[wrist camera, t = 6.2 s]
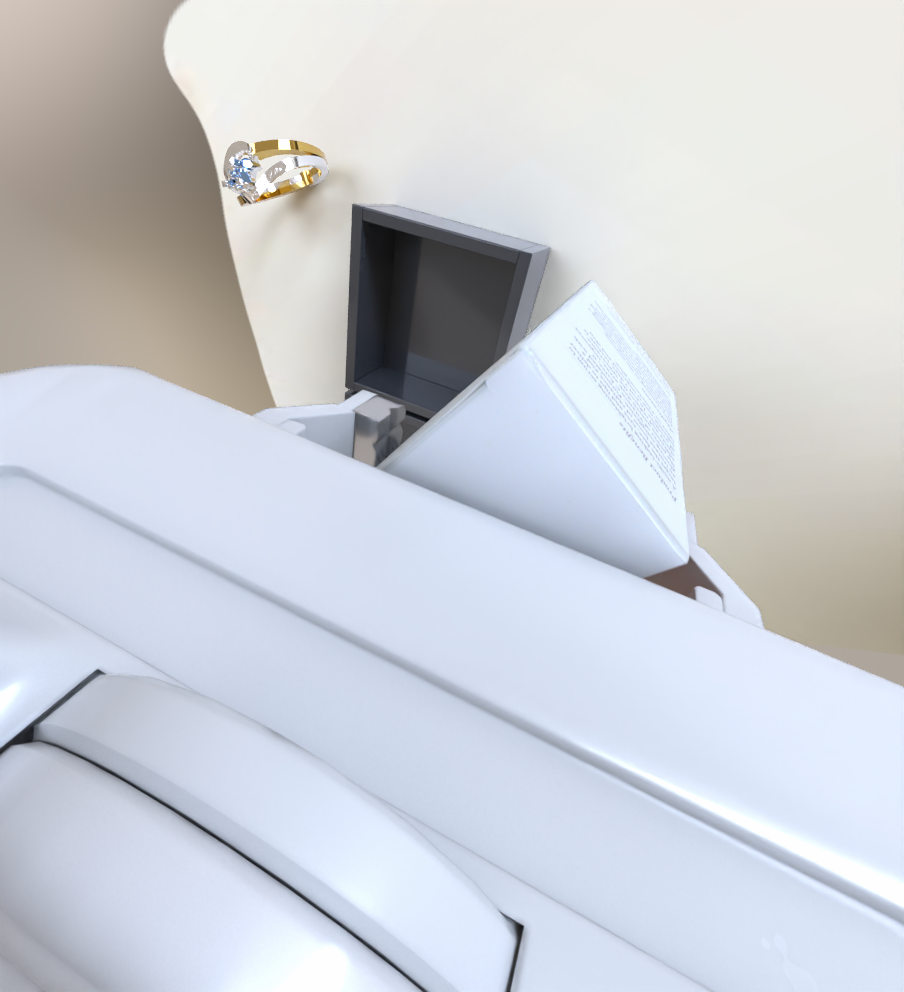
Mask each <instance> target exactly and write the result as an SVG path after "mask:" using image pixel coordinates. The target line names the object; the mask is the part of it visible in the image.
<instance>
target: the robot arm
mask: <svg viewBox="0 0 904 992" xmlns="http://www.w3.org/2000/svg"><path fill="white" fill-rule="evenodd" d="M405 413H406V409H405V406H404V405H402V404H399V403H397V402H394V401H392V400H389V399H387V398H384V397H382V396H379V395H377V394H375V393H372V392H369V391H366V390H362V391H360V392H358V393H357V394H355V395H353V396H352V397H350V398H348V399H347V400H345V401H343V402H342V403H340V404H338V405H336V404H319V405H305V406H291V407H277V408H266V409H264V410H262V411H260V412H258V413H256V414H254V415H252V416H250V415H248V414H245V413H243V412H240V411H238V410H236V409H233V408H231V407H228V406H226V405H223V404H221V403H219V402H216V401H214V400H211V399H209V398H207V397H204V396H202V395H199V394H197V393H195V392H192V391H190V390H188V389H185V388H183V387H180V386H178V385H176V384H173V383H170V382H168V381H166V380H163V379H161V378H159V377H157V376H155V375H152V374H150V373H148V372H145V371H143V370H140V369H138V368H134V367H126V366H114V365H79V364H71V365H49V366H41V367H34V368H27V369H22V370H17V371H12V372H6V373H2V374H0V992H904V687H903V686H901V685H898V684H896V683H894V682H891V681H889V680H886V679H883V678H881V677H879V676H877V675H874V674H872V673H869V672H867V671H864V670H862V669H860V668H857V667H855V666H852V665H850V664H848V663H845V662H843V661H840V660H838V659H836V658H833V657H831V656H828V655H826V654H824V653H821V652H819V651H816V650H814V649H812V648H809V647H807V646H804V645H802V644H800V643H797V642H795V641H792V640H790V639H788V638H785V637H783V636H780V635H778V634H775V633H773V632H771V631H768V630H766V629H764V625H763V621H762V617H761V613H760V610H759V609H758V607H757V606H756V605H755V604H754V603H753V602H752V601H751V600H750V599H749V598H748V597H747V595H746V594H745V593H744V592H743V591H742V590H741V589H740V588H739V587H738V586H737V584H736V583H735V582H734V581H733V580H732V579H731V578H730V577H729V576H728V575H727V574H726V572H725V571H724V570H723V569H722V568H721V567H720V566H719V565H718V564H717V563H716V562H715V560H714V559H713V558H712V557H711V556H710V555H709V554H708V553H707V552H706V551H705V550H704V548H702V547H699V546H698V541H697V534H696V526H695V518H694V515H693V514H692V513H690V512H687V511H686V523H687V533H688V543H689V560H688V563H687V564H686V565H683V566H680V567H677V568H674V569H671V570H668V571H665V572H662V573H659V574H656V575H653V576H650V577H648V578H645V579H643V578H640V577H638V576H636V575H633V574H631V573H628V572H626V571H624V570H621V569H619V568H616V567H614V566H611V565H609V564H607V563H604V562H602V561H599V560H597V559H595V558H592V557H590V556H587V555H585V554H583V553H580V552H578V551H575V550H573V549H570V548H568V547H566V546H563V545H561V544H558V543H556V542H554V541H551V540H549V539H546V538H544V537H542V536H539V535H537V534H534V533H532V532H529V531H527V530H525V529H522V528H520V527H517V526H515V525H513V524H510V523H508V522H505V521H503V520H501V519H498V518H496V517H493V516H491V515H489V514H486V513H484V512H481V511H479V510H477V509H474V508H472V507H469V506H467V505H465V504H462V503H460V502H457V501H455V500H452V499H450V498H448V497H445V496H443V495H440V494H438V493H436V492H433V491H431V490H428V489H426V488H424V487H421V486H419V485H416V484H414V483H412V482H409V481H407V480H404V479H402V478H400V477H397V476H395V475H392V474H390V473H388V472H385V471H383V470H380V469H378V468H376V467H377V466H378V465H379V464H380V463H381V462H382V461H383V460H385V458H386V456H389V455H390V454H391V453H392V452H394V451H395V450H396V449H397V448H398V447H399V445H400V442H401V439H402V435H403V429H402V427H401V424H400V422H402V421H403V420H404V419H405Z"/></svg>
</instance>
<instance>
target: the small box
mask: <svg viewBox="0 0 904 992" xmlns="http://www.w3.org/2000/svg"><path fill="white" fill-rule="evenodd" d="M376 468H378V469H380V470H383V471H385V472H388V473H390V474H392V475H395V476H397V477H400V478H402V479H404V480H407V481H409V482H412V483H414V484H416V485H419V486H421V487H424V488H426V489H428V490H431V491H433V492H436V493H438V494H440V495H443V496H445V497H448V498H450V499H452V500H455V501H457V502H460V503H462V504H465V505H467V506H469V507H472V508H474V509H477V510H479V511H481V512H484V513H486V514H489V515H491V516H493V517H496V518H498V519H501V520H503V521H505V522H508V523H510V524H513V525H515V526H517V527H520V528H522V529H525V530H527V531H529V532H532V533H534V534H537V535H539V536H542V537H544V538H546V539H549V540H551V541H554V542H556V543H558V544H561V545H563V546H566V547H568V548H570V549H573V550H575V551H578V552H580V553H583V554H585V555H587V556H590V557H592V558H595V559H597V560H599V561H602V562H604V563H607V564H609V565H611V566H614V567H616V568H619V569H621V570H624V571H626V572H628V573H631V574H633V575H636V576H638V577H640V578H643V579H645V578H648V577H650V576H653V575H656V574H659V573H662V572H665V571H668V570H671V569H674V568H677V567H680V566H683V565H686V564H687V563H688V560H689V543H688V533H687V523H686V510H685V501H684V490H683V480H682V464H681V452H680V444H679V432H678V421H677V410H676V400H675V394H674V392H673V391H672V389H671V388H670V386H669V385H668V383H667V382H666V380H665V379H664V378H663V376H662V375H661V373H660V372H659V370H658V369H657V367H656V366H655V365H654V363H653V362H652V360H651V359H650V357H649V356H648V355H647V353H646V352H645V351H644V349H643V348H642V346H641V345H640V344H639V342H638V341H637V339H636V338H635V337H634V335H633V334H632V332H631V331H630V330H629V328H628V327H627V325H626V324H625V323H624V321H623V320H622V318H621V317H620V316H619V314H618V313H617V311H616V310H615V309H614V307H613V306H612V304H611V303H610V302H609V300H608V299H607V298H606V296H605V295H604V294H603V292H602V291H601V290H600V288H599V287H598V286H597V284H596V283H595V282H594V281H593V280H592V281H589V282H588V283H586V284H585V285H584V286H583V287H581V288H580V289H579V290H578V291H577V292H576V293H574V294H573V295H572V296H571V297H570V298H569V299H568V300H566V301H565V302H564V303H563V304H562V305H561V306H560V307H558V308H557V309H556V310H555V311H554V312H553V313H552V314H551V315H549V316H548V317H547V318H546V319H545V320H544V321H543V322H542V323H541V324H539V325H538V326H537V327H536V328H535V329H534V330H533V331H531V332H530V333H529V334H528V335H527V336H526V337H525V338H524V339H522V340H521V341H520V342H519V343H518V344H517V345H516V346H514V347H513V348H512V349H511V350H510V351H509V352H507V353H506V354H505V355H504V356H503V357H502V358H500V359H499V360H498V361H497V362H496V363H495V364H493V365H492V366H491V367H490V368H489V369H488V370H486V371H485V372H484V373H483V374H482V375H481V376H479V377H478V378H477V379H476V380H475V381H474V382H473V383H471V384H470V385H469V386H468V387H467V388H466V389H464V390H463V391H462V392H461V393H460V394H459V395H457V396H456V397H455V398H454V399H453V400H452V401H451V402H449V403H448V404H447V405H446V406H445V407H444V408H443V409H441V410H440V411H439V412H438V413H437V414H436V415H435V416H433V417H432V418H431V419H430V420H429V421H428V422H427V423H425V424H424V425H423V426H422V427H421V428H420V429H418V430H417V431H416V432H415V433H414V434H413V435H412V436H410V437H409V438H408V439H407V440H406V441H405V442H404V443H402V444H401V445H400V446H399V447H398V448H397V449H396V450H395V451H394V452H392V453H391V454H390V455H389V456H388V457H387V458H386V459H385V460H383V461H382V462H381V463H380V464H379V465H378V466H377V467H376Z"/></svg>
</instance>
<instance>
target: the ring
mask: <svg viewBox="0 0 904 992" xmlns="http://www.w3.org/2000/svg"><path fill="white" fill-rule="evenodd" d="M283 154H293V155H300V156H296V157H291V158H288V159H285V160H283V161H280V162H278V163H277V164H275V165H274V166H272V167H271V168H270V169H268V170H267V171H266V172H265V173H264V174H263V175H262V176H261V178H260V179H259V180H258V181H257V183H256V181H255V179H256V176H257V172H258V171H260V170H262V167H261V165H260V164H259V160H262V159H265V158H267V157H271V156H275V155H283ZM243 155H248V156H249V157H250V159H248V158H244V159H242V160H241V157H242V156H243ZM301 167H313V168H312V169H311V170H306V171H303V172H301V173H300V175H299V176H297V177H294V178H291V179H288V180H285V181H282V182H278V183H273V184H271V183H272V182H273V181H274V180H275V179H276V178H277V177H279V176H280V175H282V174H283V173H285V172H287V171H290V170H292V169H296V168H301ZM328 174H329V169H328V166H327V161H326V158H325V155H324V153H323V152H322V151H321V150H320V149H318V148H317V147H315V146H312V145H310V144H307V143H304V142H299V141H293V140H268V141H261V142H256V143H252V144H248V143H246V142H243V141H237V142H235V143H233V144H232V145H231V146H230V147H229V148H228V150H227V153H226V156H225V161H224V176H225V178H226V181H222V185H223V187H228V188H229V189H231V190H232V191H233V192H235V193H237V194H240V196H238V197H237V199H238V201H239V203H240V205H241V207H242V206H247V205H252V204H256V203H259V202H263V201H267V200H271V199H274V198H278V197H281V196H284V195H287V194H290V193H293V192H296V191H299V190H302V189H304V188H307V187H313V186H315V185H317V183H318V182H320V181H321V180H323V179H324V178H325V177H327V175H328Z"/></svg>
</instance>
